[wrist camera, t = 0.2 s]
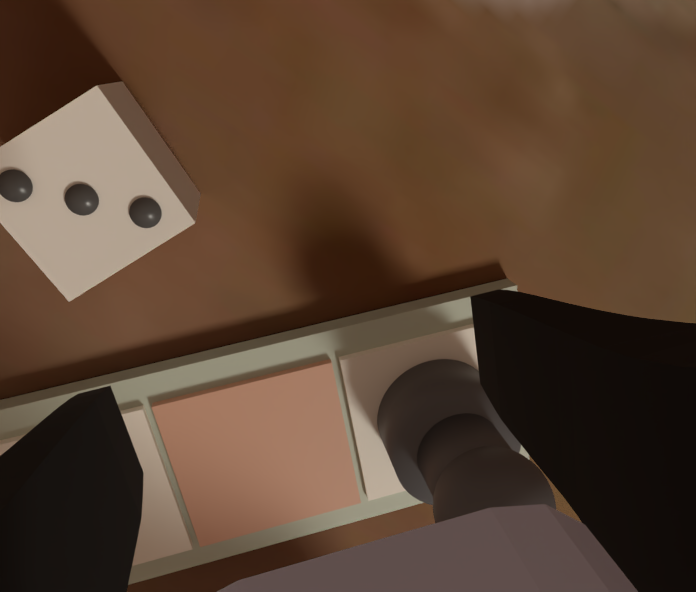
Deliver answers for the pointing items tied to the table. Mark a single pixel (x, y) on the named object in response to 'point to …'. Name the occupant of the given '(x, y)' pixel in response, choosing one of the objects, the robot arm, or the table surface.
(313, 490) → the board
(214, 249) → the table surface
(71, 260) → the die
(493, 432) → the pawn
